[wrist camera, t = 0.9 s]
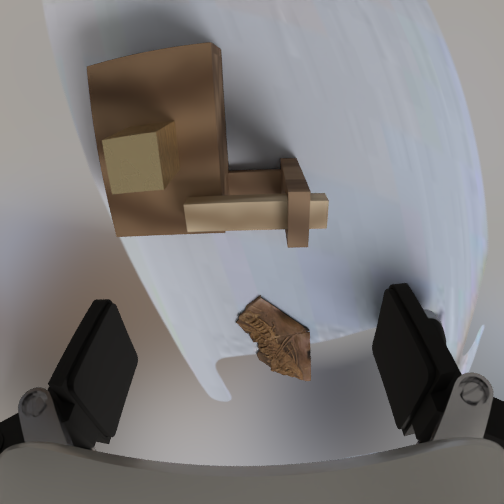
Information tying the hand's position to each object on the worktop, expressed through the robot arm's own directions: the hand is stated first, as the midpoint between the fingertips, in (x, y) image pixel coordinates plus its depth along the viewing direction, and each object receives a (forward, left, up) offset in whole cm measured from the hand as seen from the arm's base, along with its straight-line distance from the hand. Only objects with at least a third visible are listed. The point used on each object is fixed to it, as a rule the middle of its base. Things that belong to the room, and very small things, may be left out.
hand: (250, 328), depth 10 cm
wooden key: (+5, 0, -22) cm, 23 cm away
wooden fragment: (+36, +4, -32) cm, 48 cm away
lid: (-1, -10, -24) cm, 26 cm away
